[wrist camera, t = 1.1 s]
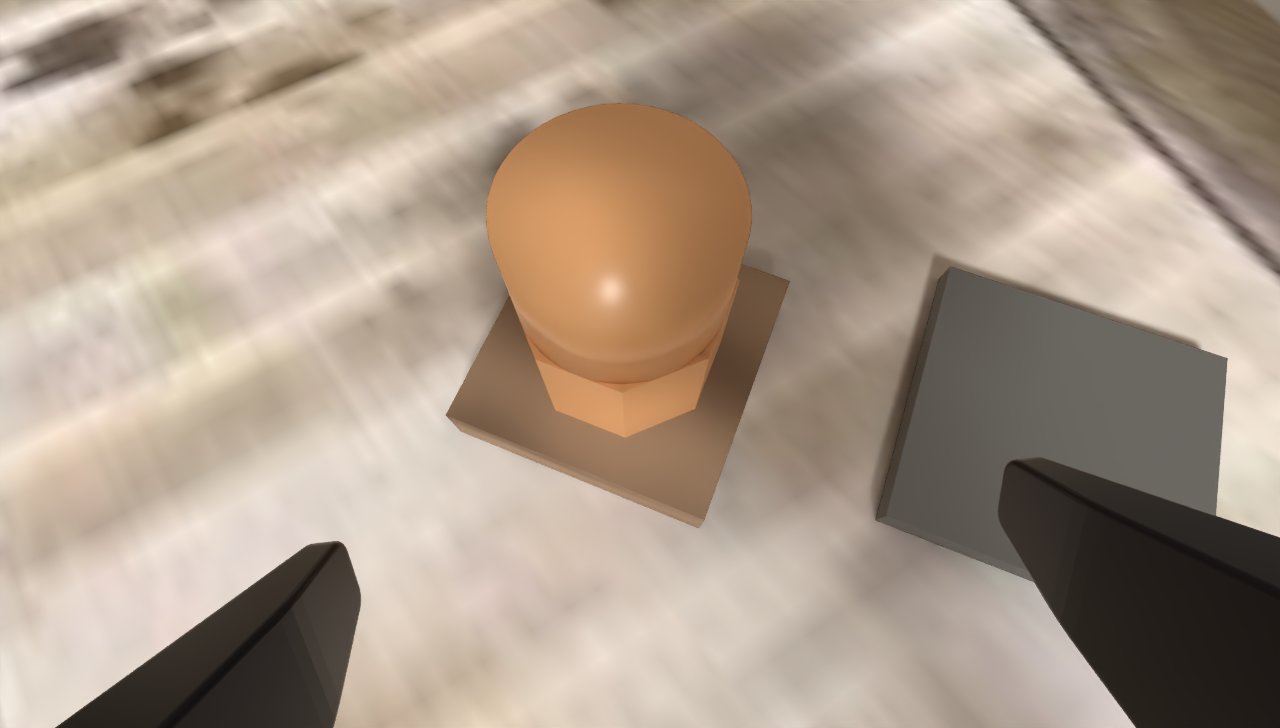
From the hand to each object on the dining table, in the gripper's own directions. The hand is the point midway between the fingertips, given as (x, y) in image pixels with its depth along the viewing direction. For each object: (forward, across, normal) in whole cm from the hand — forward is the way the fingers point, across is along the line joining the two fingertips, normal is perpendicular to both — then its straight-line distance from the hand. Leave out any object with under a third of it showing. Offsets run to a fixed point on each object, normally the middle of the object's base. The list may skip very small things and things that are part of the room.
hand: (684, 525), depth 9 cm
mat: (+12, -14, +7) cm, 20 cm away
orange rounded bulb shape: (+13, 0, +3) cm, 14 cm away
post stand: (+15, 0, +4) cm, 15 cm away
